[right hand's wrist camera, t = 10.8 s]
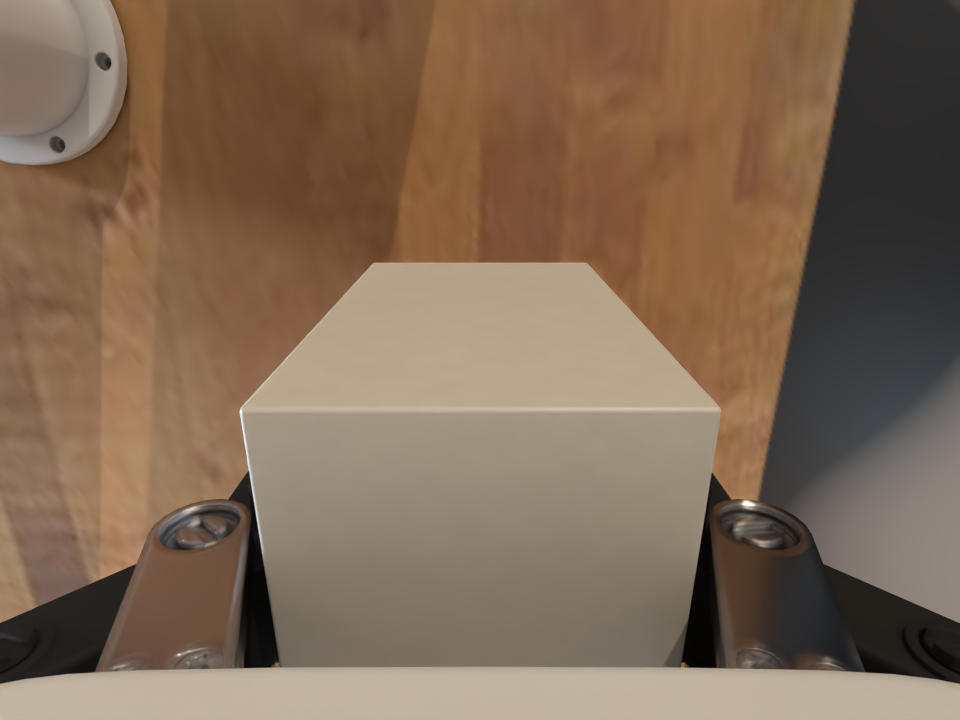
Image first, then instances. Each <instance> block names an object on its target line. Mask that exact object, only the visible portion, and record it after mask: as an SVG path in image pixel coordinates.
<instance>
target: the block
mask: <svg viewBox="0 0 960 720" xmlns="http://www.w3.org/2000/svg"><path fill="white" fill-rule="evenodd" d="M240 417H241V423H242V429H243V436H244V442H245V448H246V455H247V461H248V467H249V473H250V480H251V486H252V492H253V499H254V505H255V511H256V518H257V524H258V530H259V537H260V543H261V549H262V556H263V562H264V568H265V575H266V581H267V587H268V594H269V600H270V606H271V613H272V619H273V625H274V632H275V638H276V644H277V651H278V657H279V663H280V668H290V667H670V668H681V662H682V656H683V650H684V643H685V637H686V631H687V624H688V618H689V612H690V606H691V599H692V593H693V587H694V580H695V574H696V568H697V561H698V555H699V549H700V543H701V536H702V530H703V524H704V517H705V511H706V505H707V498H708V492H709V486H710V480H711V473H712V467H713V461H714V454H715V448H716V442H717V435H718V429H719V423H720V417H721V409H720V407H719V406H718V405H717V404H716V403H715V402H714V400H713V399H712V398H711V397H710V396H709V395H708V394H707V393H706V392H705V391H704V390H703V389H702V387H701V386H700V385H699V384H698V383H697V382H696V381H695V380H694V379H693V378H692V377H691V375H690V374H689V373H688V372H687V371H686V370H685V369H684V368H683V367H682V366H681V365H680V364H679V362H678V361H677V360H676V359H675V358H674V357H673V356H672V355H671V354H670V353H669V352H668V350H667V349H666V348H665V347H664V346H663V345H662V344H661V343H660V342H659V341H658V340H657V339H656V337H655V336H654V335H653V334H652V333H651V332H650V331H649V330H648V329H647V328H646V327H645V326H644V324H643V323H642V322H641V321H640V320H639V319H638V318H637V317H636V316H635V315H634V314H633V312H632V311H631V310H630V309H629V308H628V307H627V306H626V305H625V304H624V303H623V302H622V301H621V299H620V298H619V297H618V296H617V295H616V294H615V293H614V292H613V291H612V290H611V289H610V287H609V286H608V285H607V284H606V283H605V282H604V281H603V280H602V279H601V278H600V277H599V276H598V274H597V273H596V272H595V271H594V270H593V269H592V268H591V267H590V266H589V265H588V264H587V263H373V264H372V265H371V266H370V267H369V268H368V269H367V271H366V272H365V273H364V274H363V275H362V276H361V277H360V278H359V279H358V280H357V281H356V283H355V284H354V285H353V286H352V287H351V288H350V289H349V290H348V291H347V292H346V293H345V295H344V296H343V297H342V298H341V299H340V300H339V301H338V302H337V303H336V304H335V305H334V307H333V308H332V309H331V310H330V311H329V312H328V313H327V314H326V315H325V316H324V317H323V319H322V320H321V321H320V322H319V323H318V324H317V325H316V326H315V327H314V328H313V329H312V331H311V332H310V333H309V334H308V335H307V336H306V337H305V338H304V339H303V340H302V342H301V343H300V344H299V345H298V346H297V347H296V348H295V349H294V350H293V351H292V352H291V354H290V355H289V356H288V357H287V358H286V359H285V360H284V361H283V362H282V363H281V364H280V366H279V367H278V368H277V369H276V370H275V371H274V372H273V373H272V374H271V375H270V376H269V378H268V379H267V380H266V381H265V382H264V383H263V384H262V385H261V386H260V387H259V388H258V390H257V391H256V392H255V393H254V394H253V395H252V396H251V397H250V398H249V399H248V400H247V402H246V403H245V404H244V405H243V406H242V407H241V409H240Z"/></svg>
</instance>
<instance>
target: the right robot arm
mask: <svg viewBox="0 0 960 720" xmlns="http://www.w3.org/2000/svg"><path fill="white" fill-rule="evenodd" d="M110 60H111V63H112V64H111V67H110V65H109V61H110ZM126 86H127V55H126V49H125V42H124V36H123V33H122V30H121V27H120V24H119V21H118V18H117V15H116V12H115V10H114V8H113V6H112V4H111V2H110V0H0V161H4V162H8V163H11V164H23V165H48V164H56V163H60V162H64V161H69V160H72V159H74V158H76V157H78V156H80V155H82V154H84V153H86V152H88V151H90V150H91V149H92V148H93V147H94V146H96V145H97V144H98V143H99V142H100V141H102V140H103V139H104V137H105V136H106V134H107V133H108V132H109V130H110V129H111V128H112V126H113V125H114V124H115V121H116V119H117V117H118V114H119V112H120V110H121V108H122V105H123V101H124V96H125V91H126ZM64 143H65V144H64ZM275 662H276V663H279V657H278V651H277V644H276V638H275V632H274V625H273V619H272V613H271V606H270V600H269V594H268V587H267V581H266V575H265V568H264V562H263V556H262V549H261V543H260V537H259V530H258V524H257V518H256V511H255V505H254V499H253V492H252V486H251V480H250V473H249V471H248V473H247V474H246V475H245V477H244V478H243V480H242V481H241V482H240V484H239V485H238V487H237V488H236V489H235V491H234V492H233V494H232V495H231V496H230V498H229V499H228V500H225V499H216V500H206V501H201V502H197V503H192V504H190V505H187V506H184V507H182V508H179V509H177V510H175V511H173V512H172V513H170V514H168V515H166V516H164V517H163V518H162V519H161V520H160V521H159V522H157V523H156V524H155V525H154V526H153V528H152V529H151V531H150V533H149V534H148V536H147V539H146V542H145V544H144V547H143V549H142V552H141V554H140V557H139V560H138V562H137V564H135V565H133V566H131V567H128V568H126V569H124V570H121V571H119V572H117V573H115V574H112V575H110V576H108V577H105V578H103V579H101V580H99V581H96V582H94V583H92V584H89V585H87V586H85V587H82V588H80V589H78V590H76V591H73V592H71V593H69V594H66V595H64V596H62V597H59V598H57V599H55V600H53V601H50V602H48V603H46V604H43V605H41V606H39V607H36V608H34V609H32V610H30V611H27V612H25V613H23V614H20V615H18V616H16V617H14V618H11V619H9V620H7V621H4V622H2V623H0V720H960V623H958V622H955V621H953V620H951V619H948V618H946V617H944V616H942V615H939V614H937V613H935V612H932V611H930V610H928V609H925V608H923V607H921V606H919V605H916V604H914V603H912V602H909V601H907V600H905V599H902V598H900V597H898V596H896V595H893V594H891V593H889V592H886V591H884V590H882V589H879V588H877V587H875V586H872V585H870V584H868V583H866V582H863V581H861V580H859V579H856V578H854V577H852V576H850V575H847V574H845V573H843V572H840V571H838V570H836V569H833V568H831V567H829V566H827V565H824V564H823V562H822V560H821V557H820V554H819V552H818V549H817V547H816V544H815V542H814V539H813V536H812V534H811V533H810V531H809V529H808V528H807V526H806V525H805V524H804V523H803V522H801V521H800V520H799V519H798V518H797V517H795V516H794V515H792V514H790V513H788V512H787V511H785V510H783V509H781V508H778V507H776V506H773V505H770V504H768V503H763V502H759V501H754V500H744V499H735V500H731V499H730V497H729V496H728V494H727V493H726V491H725V490H724V489H723V487H722V486H721V484H720V483H719V482H718V480H717V479H716V477H715V476H714V475H713V473H711V480H710V486H709V492H708V498H707V505H706V511H705V517H704V524H703V530H702V536H701V543H700V549H699V555H698V561H697V568H696V574H695V580H694V587H693V593H692V599H691V606H690V612H689V618H688V624H687V631H686V637H685V643H684V650H683V656H682V662H681V663H684V662H685V668H670V667H290V668H275Z"/></svg>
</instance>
